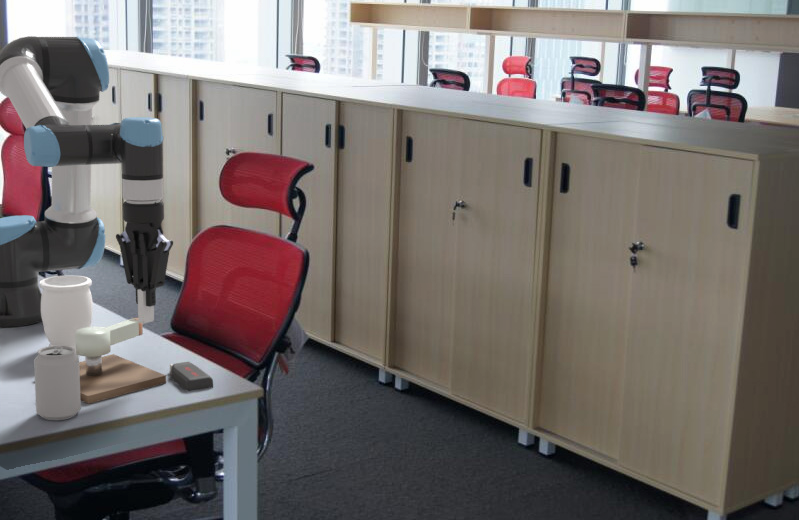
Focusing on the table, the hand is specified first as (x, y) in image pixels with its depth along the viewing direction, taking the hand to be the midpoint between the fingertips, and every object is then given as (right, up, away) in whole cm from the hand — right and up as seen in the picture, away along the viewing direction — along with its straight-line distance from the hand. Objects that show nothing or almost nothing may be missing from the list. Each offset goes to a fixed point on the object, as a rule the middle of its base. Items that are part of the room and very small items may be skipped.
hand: (146, 321), depth 202 cm
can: (-11, -16, -17) cm, 26 cm away
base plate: (-9, -12, +1) cm, 15 cm away
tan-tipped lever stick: (-8, -5, +4) cm, 10 cm away
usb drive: (+8, -12, +3) cm, 15 cm away
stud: (-10, -10, 0) cm, 14 cm away
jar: (-21, -7, +19) cm, 30 cm away
